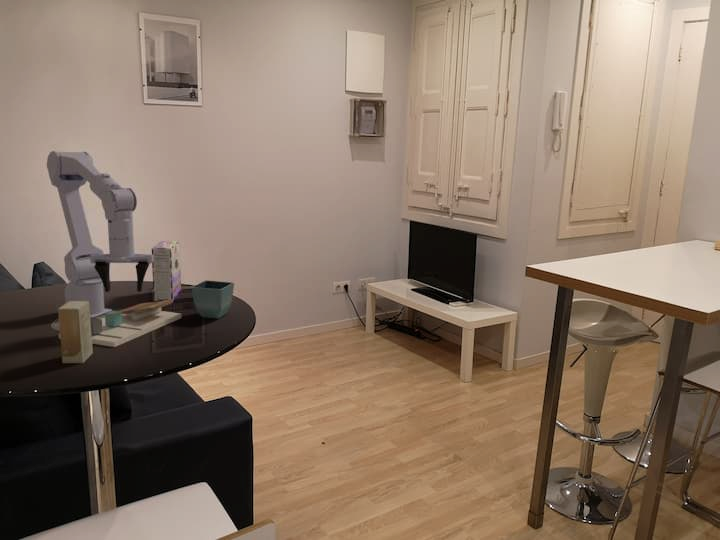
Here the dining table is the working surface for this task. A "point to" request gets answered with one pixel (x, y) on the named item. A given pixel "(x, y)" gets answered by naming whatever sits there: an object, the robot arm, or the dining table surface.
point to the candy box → (166, 270)
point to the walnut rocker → (146, 307)
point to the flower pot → (212, 298)
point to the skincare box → (75, 331)
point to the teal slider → (113, 318)
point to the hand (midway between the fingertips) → (123, 290)
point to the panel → (133, 327)
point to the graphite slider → (96, 326)
